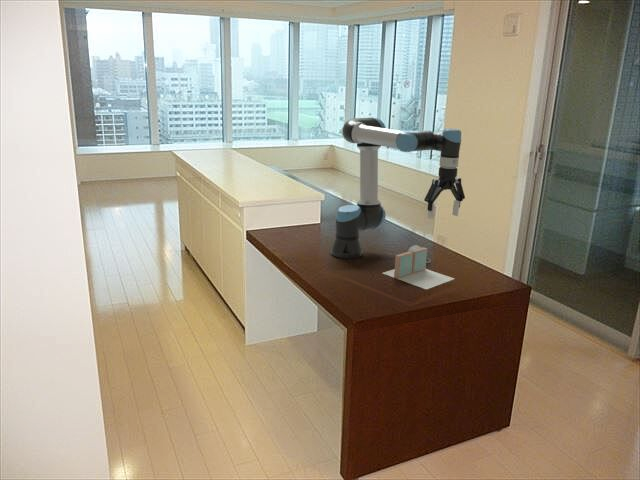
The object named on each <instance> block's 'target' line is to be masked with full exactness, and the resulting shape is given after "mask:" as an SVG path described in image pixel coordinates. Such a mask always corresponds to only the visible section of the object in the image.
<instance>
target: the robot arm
mask: <svg viewBox="0 0 640 480" xmlns="http://www.w3.org/2000/svg"><path fill="white" fill-rule="evenodd" d="M342 136H343V138H344V140H345V141H347V142H348V143H350V144H356V147H357V148H358V150H359V182H360V183H359V184H360V185H359V189H360V190H359V196H360V197H359V200H357V202H356V205H355V204H350V205H348V204H346V205H342V206H340V207H339V208H338V209H336V212H335V232H334V233H335V235H334V240H333V244H332V247H331V248H330V255H332V257H333V256H334V257H336V258H340V259H357V258H360V257H361V256H362V255H363V248H362V245H361V242H360V232H365V231H368V230H375V229H378V228H380V227H381V226H383V224H384V223H385V220H386V214H387V213H386V211H385V209H384V206H383V205H382V202H381V201H380V200H379V198H378V197H379V196H378V195H379V193H378V192H379V191H378V190H379V188H378V186H379V185H378V182H379V181H378V180H379V178H378V177H379V175H378V174H379V173H378V172H379V171H378V170H379V166H378V165H379V162H378V161H379V150H380V148H381V147H386V148H392V149H397V150H399V151H400V152H404V153H411V152H420V151H438V152H440V156H439V164H438V165H439V168H438V173H437V175H438V179H435V178H433V179H432V181H431V185H430V187H429V189H428V191H427V193H426V195H425V197H424V200H423V202H426V203H427V218H428V219H431V220H434V214H435V208H436V207H435V205H436V203H435V201H436V199H438V197H439V196H440V194H441V193H442V192H443V191H446V190H450V192H451V194H452V195H453V197H454V200H453V204H452V205H453V206H452V212H451V213H452V215H453V216H455V217H459V209H460V208H461V202H463V200H465V199H466V198H465V193H464V188H463V185H462V178H460V177H458V167H459V158H460V150H461V144H462V131H461V130H460V129H456V128H445V129H443V131H442V132H438V131H431V130H423V131H421V132H419V131H418V132H409V131H403V130H399V129H391V128H386V125H385V123H384V122H383V121H382V120H381V119H380V118H378V117H353V118H351V119H348V120H347V121H346V122H345V123H344V124H343V127H342Z"/></svg>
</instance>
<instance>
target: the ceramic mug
mask: <svg viewBox="0 0 640 480" xmlns="http://www.w3.org/2000/svg"><path fill="white" fill-rule="evenodd" d="M419 248H422V247H421V246H420V245H417V244H415V245H412V246H410V247H409V248H408V249H407V252H409V251H410V252H411V251H412V250H416V249H419ZM429 263H432V260H431V259H430V258H428V257H427V259H426V264H429Z"/></svg>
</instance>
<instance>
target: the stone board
mask: <svg viewBox="0 0 640 480" xmlns="http://www.w3.org/2000/svg"><path fill="white" fill-rule="evenodd" d="M394 271H395V268H394V269H391V270H387V271H385V272H382V274H383V275H385V276H389V277H391V278H394ZM395 279H397V278H395ZM397 280H400V281H403V283H404V282H405V283H408V284H410V285H413V286H415V287H419V288H422V289H424V290H429V289H432V288H434V287H436V286H441V285H442V284H445V283H448V282H451V281H453V280H455V278H454V277H451V276H448V275H445V274H442V273H439V272H436V271H433V270H430V269H427V268H426V270H423V271H420V272H417V273H414V274H411V275H408V276H405V277H402V278H399V279H397Z"/></svg>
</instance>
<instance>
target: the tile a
mask: <svg viewBox="0 0 640 480" xmlns="http://www.w3.org/2000/svg"><path fill="white" fill-rule="evenodd" d="M412 261H413V252H410V251H409V252H408V251H406V252H402V253H399V254H396V255H395V259H394V269H395V271H394V277H393V279H396V278H397V280H399V278H402V277H405V276H408V275H411V273H412Z"/></svg>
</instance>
